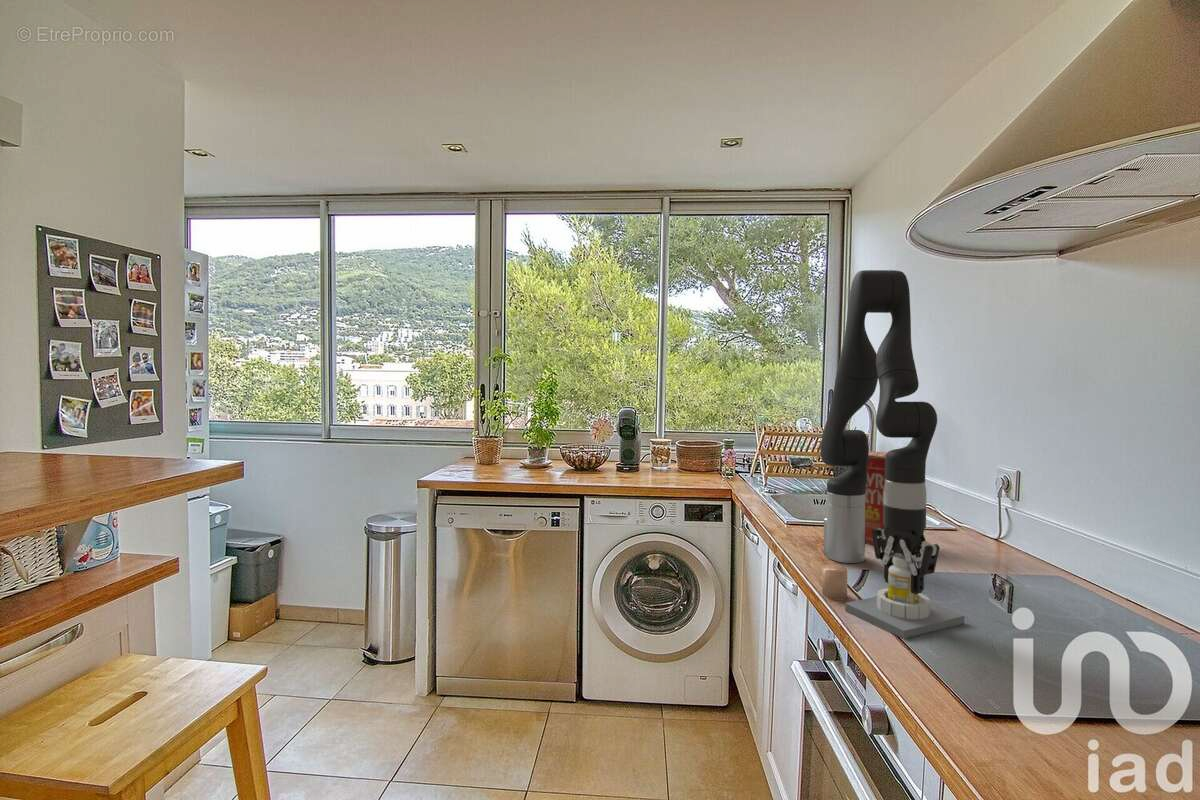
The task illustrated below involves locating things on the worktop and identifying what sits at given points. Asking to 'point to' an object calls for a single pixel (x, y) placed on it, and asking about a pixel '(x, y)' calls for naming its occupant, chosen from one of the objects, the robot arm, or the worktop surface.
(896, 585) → the supplement bottle
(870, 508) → the food packaging
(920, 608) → the collar board
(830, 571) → the peach pill-shaped knob
